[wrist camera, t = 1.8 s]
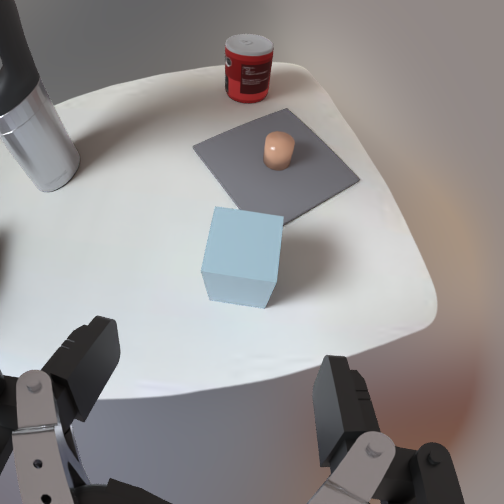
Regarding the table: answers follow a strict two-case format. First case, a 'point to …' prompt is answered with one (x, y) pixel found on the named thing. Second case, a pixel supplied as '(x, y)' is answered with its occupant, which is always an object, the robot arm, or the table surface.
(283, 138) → the peach rounded cylinder
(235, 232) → the light blue tall box
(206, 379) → the table surface
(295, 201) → the mat
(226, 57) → the canned food
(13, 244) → the table surface
